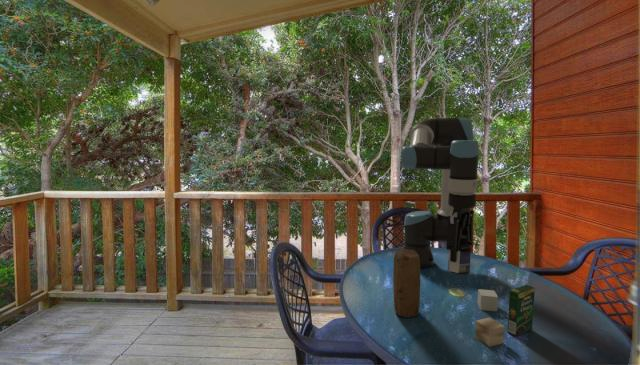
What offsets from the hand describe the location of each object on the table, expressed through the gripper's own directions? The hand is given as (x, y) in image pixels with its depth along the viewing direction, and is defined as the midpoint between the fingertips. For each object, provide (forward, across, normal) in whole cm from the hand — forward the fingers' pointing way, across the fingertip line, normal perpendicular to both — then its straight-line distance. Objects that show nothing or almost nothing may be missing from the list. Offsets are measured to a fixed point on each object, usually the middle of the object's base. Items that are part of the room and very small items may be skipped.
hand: (458, 268), depth 104 cm
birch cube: (+17, -4, -11) cm, 20 cm away
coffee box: (+17, +6, -16) cm, 24 cm away
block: (+17, -6, +15) cm, 23 cm away
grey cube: (+17, +16, -4) cm, 24 cm away
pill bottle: (+1, 0, 0) cm, 1 cm away
